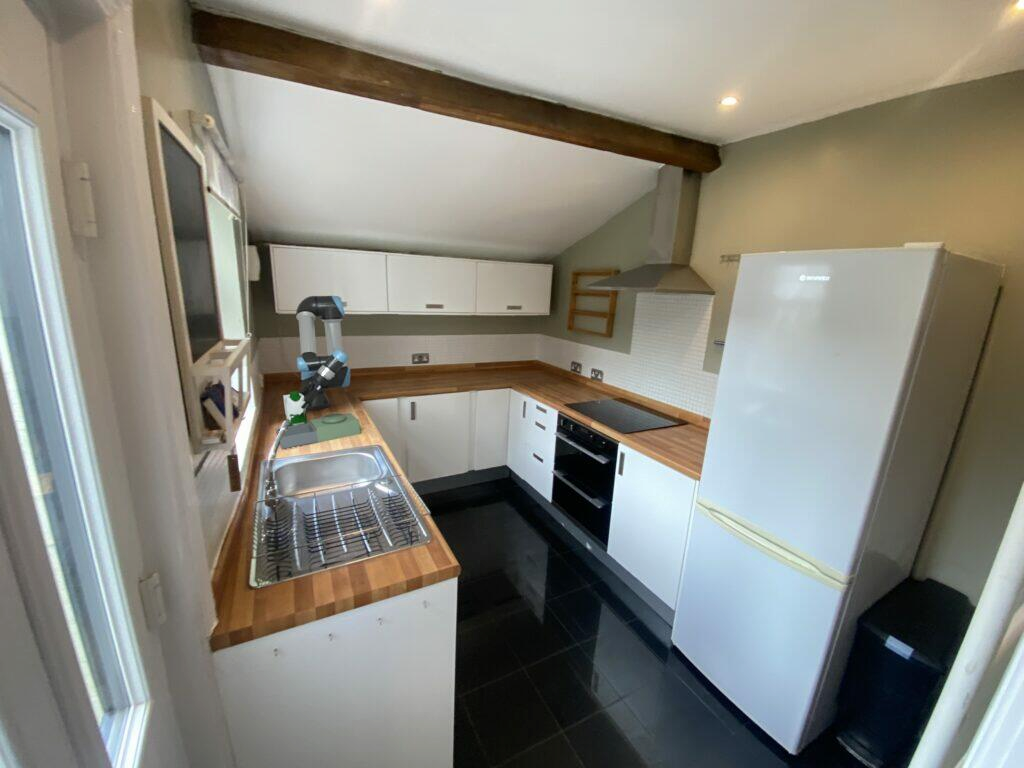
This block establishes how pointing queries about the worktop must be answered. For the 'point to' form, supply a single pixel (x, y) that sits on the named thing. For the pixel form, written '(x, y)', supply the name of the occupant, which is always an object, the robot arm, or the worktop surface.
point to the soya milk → (294, 408)
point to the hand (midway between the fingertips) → (294, 410)
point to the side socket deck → (320, 430)
